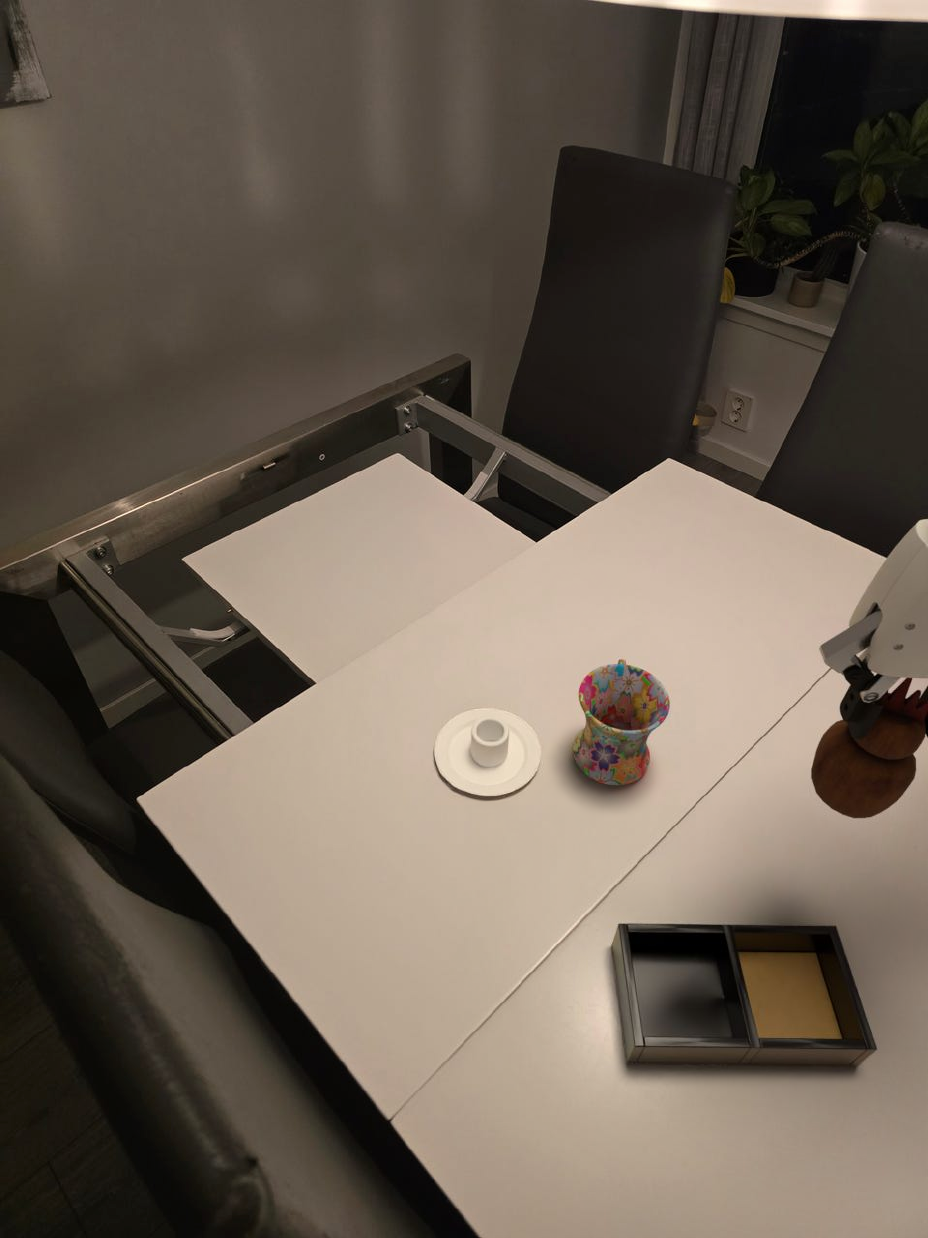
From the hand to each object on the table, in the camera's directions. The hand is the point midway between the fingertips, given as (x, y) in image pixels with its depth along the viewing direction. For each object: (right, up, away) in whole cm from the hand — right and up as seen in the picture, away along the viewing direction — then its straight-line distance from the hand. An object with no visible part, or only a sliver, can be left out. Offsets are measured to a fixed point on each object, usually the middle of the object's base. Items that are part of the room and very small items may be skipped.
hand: (889, 722), depth 57 cm
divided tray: (-8, -26, +12) cm, 30 cm away
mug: (-14, -7, +32) cm, 36 cm away
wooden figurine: (0, -7, +7) cm, 10 cm away
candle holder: (-28, -8, +31) cm, 43 cm away
